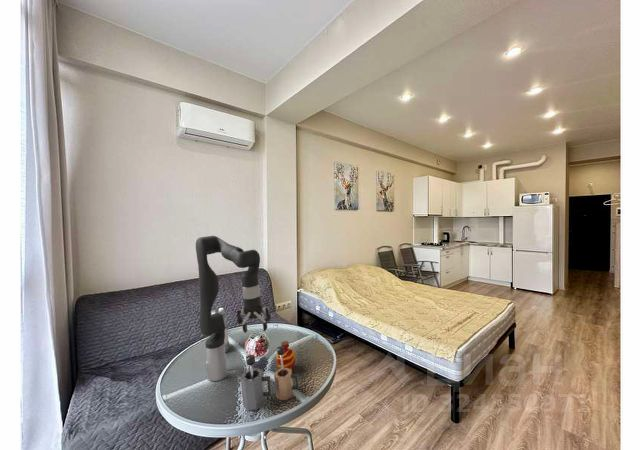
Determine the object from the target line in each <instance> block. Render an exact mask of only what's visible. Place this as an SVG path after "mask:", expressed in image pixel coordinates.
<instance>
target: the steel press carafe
mask: <svg viewBox="0 0 640 450" xmlns="http://www.w3.org/2000/svg"><path fill="white" fill-rule="evenodd" d="M253 377H254V379H251V371H250V368H249V369H248V370H246V371H244V372H243V373H242V375H241V377H240V384H241V385H240V386H241V394H242V402H243V404H242V405H243V408H244V409H245V410H247V412H250V411H257V410H259V409H261V408H262V407H263V406H265V404H266V403H265V402H266V400H267V399H266V397H272V393H273V392H272V382H271V375H270V376H269V375H268V376H264V371H263V370H262V369H261V368H259V367H257V368H253ZM265 382H267V391H266V388H265Z"/></svg>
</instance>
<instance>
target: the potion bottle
mask: <svg viewBox="0 0 640 450" xmlns="http://www.w3.org/2000/svg"><path fill="white" fill-rule="evenodd" d="M280 343H281V344H280V346H284V349H285V353H284V354H283V355H282V358H283V368H288V369H290V370H291V371H292V372H293V368H292V367H293V366H294V365H295V363H296V353H295V351H294V349H291V348H289V347H290V344H289V341H287V340H285V341H284V340H283V341H281V342H280ZM276 363H277V367H278V368H279V369H281V358H280V355H278V354H277V353H276Z"/></svg>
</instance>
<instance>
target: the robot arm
mask: <svg viewBox="0 0 640 450" xmlns="http://www.w3.org/2000/svg"><path fill="white" fill-rule="evenodd" d="M195 252H196V253H195V254H196V259H197V264H198V265H197V268H198V269H197V270H198V288H199V303H200V304H199V305H200V311H199V330H200V332H201V335H203V336H205V337H208V336H209V337H208V338H207V339H206V340H205V351H206V362H205V366H206V367H205V368H206V375H207V376H206V378H207V380H208V379H210V380H209V381H211V380H212V381H211V382H218V381H221V380H223V379H225V378H226V377H227V376H228V363H227V355H226V354H227V352H226V353H225V343H224V339H225V326H224V319H223V316H222V315H221V314H220V313H214V314H212V315H211V311H212V309H213V306H214V303H215V302H216V299H217V296H218V295H219V292H220V290H219V289H220V288H219V286H220V285H219V278H218V277H219V276H218V275H217V274H216V272H215V271H214V270H213V269H212V267H211V266H210V263H209V262H208V261H209V260H208V256H209V255H213V254H216V253H219V254H221V256H222V257H223V258H224V259H225V260H227V261H229V262H232V263H233V264H234V265H235V266H236V267H237V268H241V269H245V268H248V269H247V270H246V271H245V272H243V273H242V274H241V284H242V285H241V286H242V299H243V300H242V301H243V308H239V309H238V310H237V311H236V316H237V319H236V321H237V324H238V325H240V324H241V327H242V332H243V333H245V334H246V333H247V332H248V324H247V321H248V320H252V319H254V320H255V319H256V320H257V319H259V320H261V322H262V329H263V332H266V331H267V329H268V322H270V321H271V318H272V317H271V311H270V310H271V309H270V306H269V305H267V306H265V307H263V305H262V296H261V289H260V284H259V270H260V263H261V255H260V253H259V252H258V251H257V250H256V249H249V250H243V248H242V247H239V246H236V245H232V244H230V243H228V242H226V241H225V240H223V239H222V238H221V237H218V236H215V235H208V236H201V237H198V238H197V239H196V241H195ZM263 311H264V313H265V314H263ZM243 314H244V315H245V317H244V319H243ZM226 375H227V376H226ZM224 377H225V378H224Z"/></svg>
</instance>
